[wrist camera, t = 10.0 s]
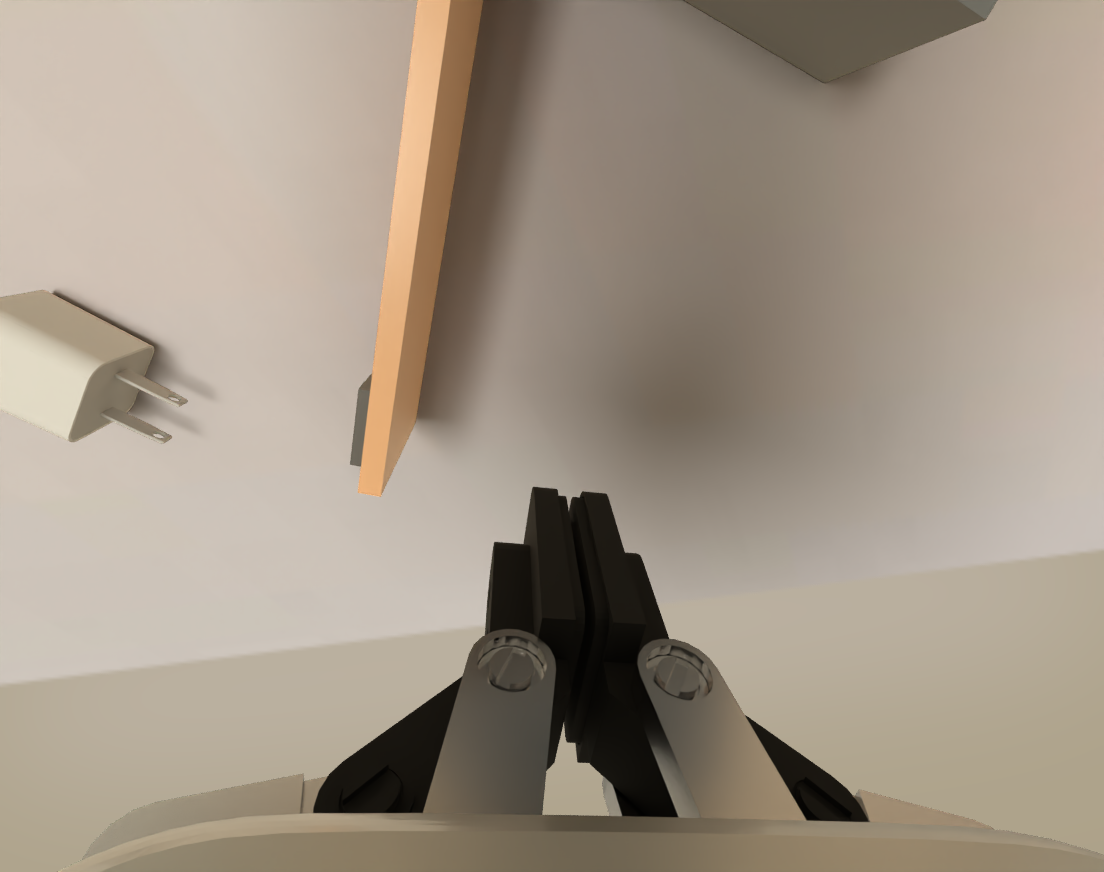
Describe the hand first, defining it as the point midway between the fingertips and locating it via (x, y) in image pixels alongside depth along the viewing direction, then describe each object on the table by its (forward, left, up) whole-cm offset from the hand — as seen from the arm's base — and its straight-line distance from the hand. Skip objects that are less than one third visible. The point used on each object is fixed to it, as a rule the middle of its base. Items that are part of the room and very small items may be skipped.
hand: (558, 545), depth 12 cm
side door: (-7, +5, -14) cm, 16 cm away
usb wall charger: (-17, -7, -15) cm, 24 cm away
